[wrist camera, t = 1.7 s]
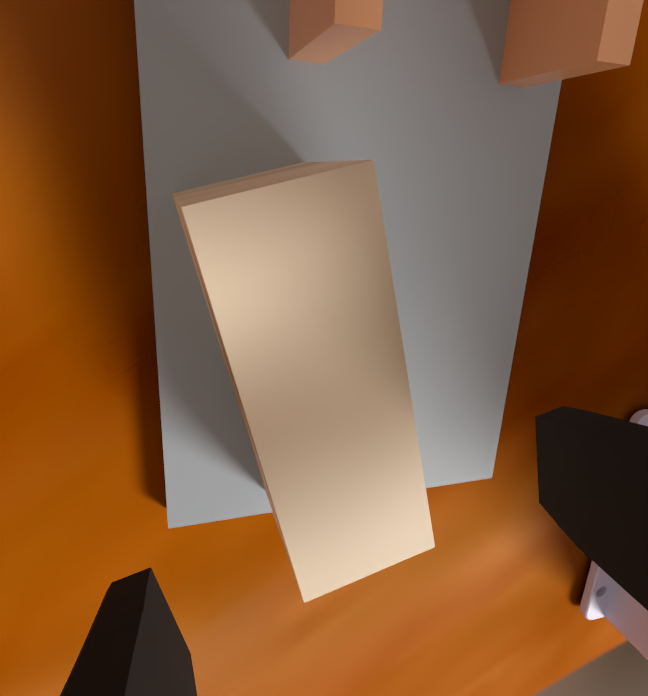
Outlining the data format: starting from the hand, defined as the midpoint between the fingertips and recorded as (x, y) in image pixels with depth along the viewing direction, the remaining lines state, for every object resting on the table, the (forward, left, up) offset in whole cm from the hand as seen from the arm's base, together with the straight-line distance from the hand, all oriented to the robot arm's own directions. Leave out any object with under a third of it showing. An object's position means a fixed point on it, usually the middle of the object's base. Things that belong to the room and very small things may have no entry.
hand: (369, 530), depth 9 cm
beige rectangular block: (+2, 0, -5) cm, 5 cm away
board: (+5, -2, -6) cm, 8 cm away
